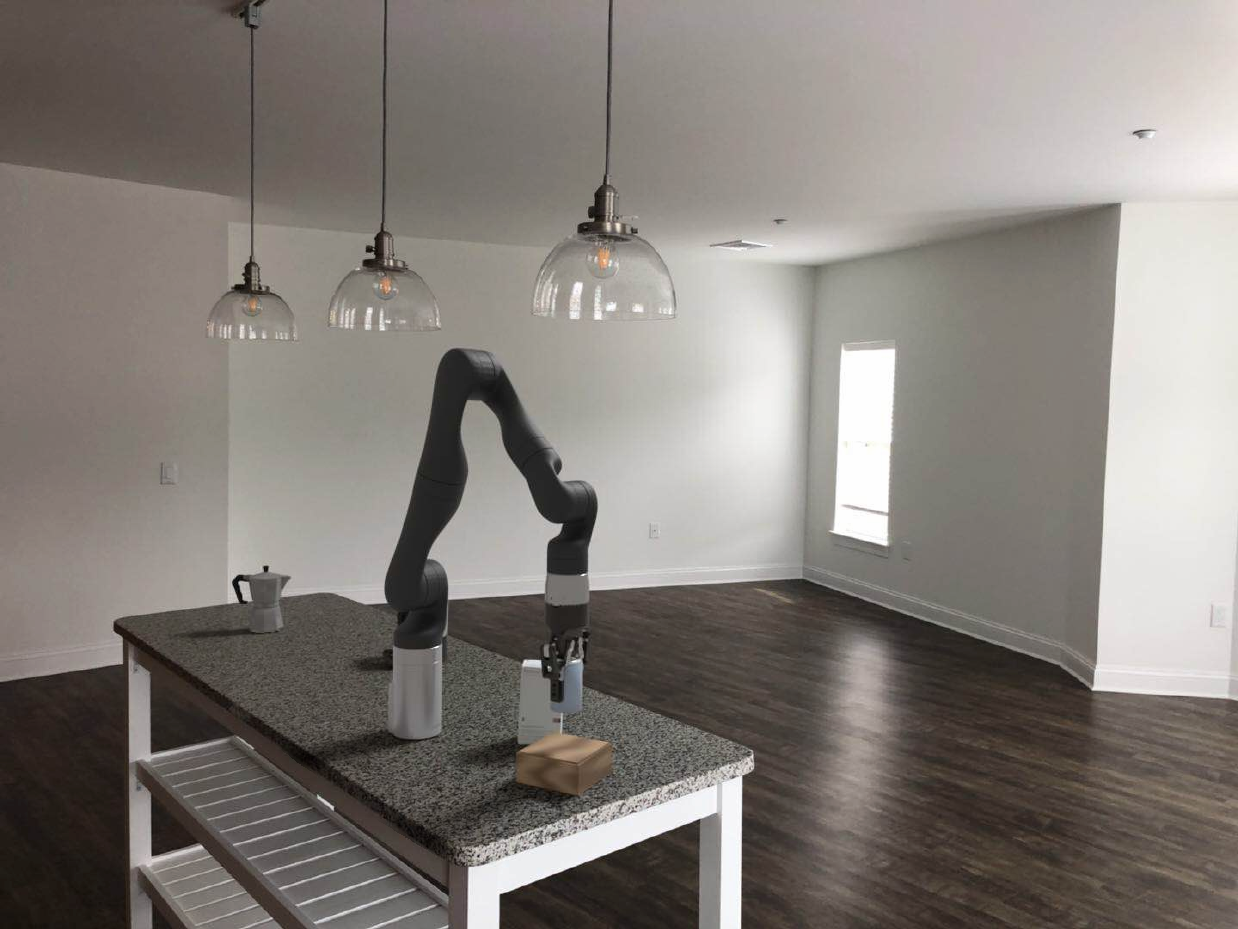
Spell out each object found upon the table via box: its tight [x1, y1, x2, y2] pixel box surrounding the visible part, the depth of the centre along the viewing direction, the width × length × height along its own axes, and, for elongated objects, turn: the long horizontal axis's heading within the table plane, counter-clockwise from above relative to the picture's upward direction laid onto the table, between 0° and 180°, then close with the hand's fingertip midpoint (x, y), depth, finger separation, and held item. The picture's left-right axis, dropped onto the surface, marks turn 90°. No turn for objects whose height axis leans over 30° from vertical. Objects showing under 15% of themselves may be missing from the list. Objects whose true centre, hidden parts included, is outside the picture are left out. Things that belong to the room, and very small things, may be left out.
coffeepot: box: [231, 565, 292, 631], centre depth 271 cm, size 15×9×18 cm, turn 103°
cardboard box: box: [515, 732, 613, 796], centre depth 168 cm, size 12×12×5 cm
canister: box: [550, 657, 583, 714], centre depth 167 cm, size 5×5×8 cm
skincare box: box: [517, 659, 564, 745], centre depth 186 cm, size 8×6×15 cm
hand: (565, 696), depth 167 cm, fingers closed on canister, 5 cm apart
